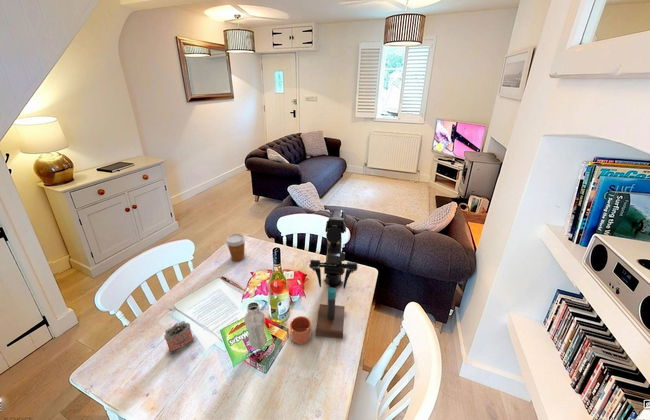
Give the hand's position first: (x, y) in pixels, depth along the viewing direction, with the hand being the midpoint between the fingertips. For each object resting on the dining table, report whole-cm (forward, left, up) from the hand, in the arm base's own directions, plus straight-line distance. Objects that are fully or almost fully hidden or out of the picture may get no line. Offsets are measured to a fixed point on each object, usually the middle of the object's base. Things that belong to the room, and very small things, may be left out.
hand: (332, 288), depth 104 cm
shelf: (+4, +5, -12) cm, 14 cm away
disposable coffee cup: (+20, -57, -12) cm, 62 cm away
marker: (+4, +5, -8) cm, 10 cm away
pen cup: (+16, +3, -12) cm, 20 cm away
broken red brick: (+53, -16, -12) cm, 57 cm away
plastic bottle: (+31, 0, -12) cm, 33 cm away
